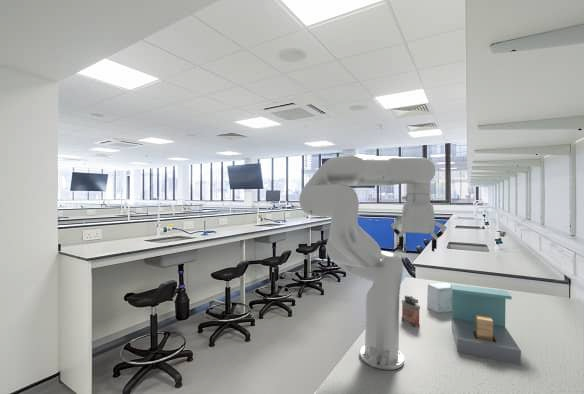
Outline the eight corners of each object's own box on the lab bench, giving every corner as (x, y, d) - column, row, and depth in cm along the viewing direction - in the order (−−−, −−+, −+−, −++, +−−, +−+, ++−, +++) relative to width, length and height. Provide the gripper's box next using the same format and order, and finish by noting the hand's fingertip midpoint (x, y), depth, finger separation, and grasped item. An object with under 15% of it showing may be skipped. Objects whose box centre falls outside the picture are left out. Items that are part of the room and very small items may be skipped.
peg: (492, 353, 89) (493, 321, 89) (477, 350, 90) (477, 318, 90) (490, 347, 92) (490, 316, 92) (475, 344, 94) (475, 314, 94)
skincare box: (438, 313, 120) (438, 288, 120) (426, 307, 126) (426, 283, 126) (457, 310, 123) (458, 286, 123) (445, 305, 129) (446, 282, 129)
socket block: (522, 364, 83) (523, 309, 83) (455, 351, 90) (455, 299, 90) (506, 337, 99) (506, 291, 99) (450, 327, 106) (450, 284, 106)
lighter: (399, 319, 113) (399, 293, 113) (406, 318, 114) (406, 293, 114) (414, 328, 106) (415, 300, 106) (422, 326, 107) (422, 299, 107)
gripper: (390, 198, 98) (389, 248, 98) (447, 199, 91) (446, 253, 91) (392, 199, 105) (391, 245, 105) (446, 200, 98) (445, 250, 98)
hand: (417, 249), depth 98 cm, fingers open, 9 cm apart
